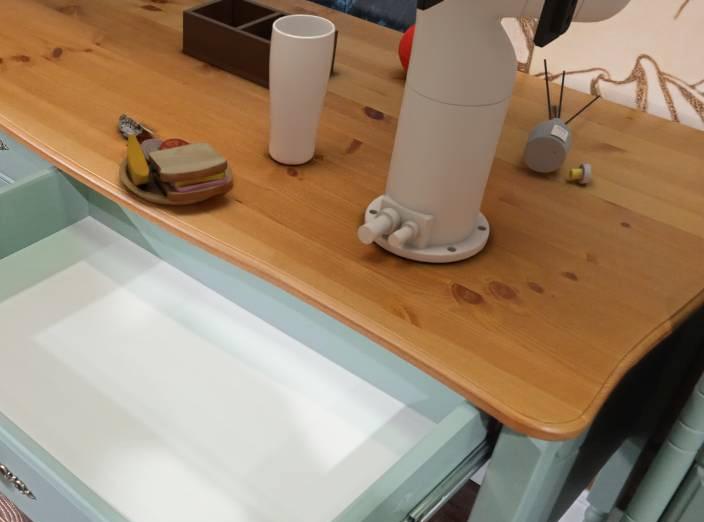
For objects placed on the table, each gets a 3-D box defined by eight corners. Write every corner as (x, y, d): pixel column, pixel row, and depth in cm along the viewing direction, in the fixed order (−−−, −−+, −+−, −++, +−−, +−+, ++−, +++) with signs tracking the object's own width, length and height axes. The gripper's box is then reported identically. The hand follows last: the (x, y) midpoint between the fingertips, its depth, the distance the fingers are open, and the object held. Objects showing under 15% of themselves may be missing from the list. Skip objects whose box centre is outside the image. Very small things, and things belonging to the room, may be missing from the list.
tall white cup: (278, 174, 97) (290, 41, 86) (252, 147, 101) (261, 18, 91) (330, 163, 99) (348, 32, 88) (303, 138, 103) (317, 10, 93)
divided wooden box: (284, 95, 112) (288, 51, 108) (182, 52, 122) (182, 10, 118) (333, 73, 117) (338, 30, 113) (231, 34, 127) (232, -7, 123)
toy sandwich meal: (217, 146, 101) (218, 109, 97) (245, 209, 91) (248, 169, 88) (112, 156, 99) (110, 118, 96) (130, 220, 90) (128, 181, 86)
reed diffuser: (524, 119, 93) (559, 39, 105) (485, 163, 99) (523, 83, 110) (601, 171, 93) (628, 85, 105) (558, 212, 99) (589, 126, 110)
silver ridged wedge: (134, 141, 101) (152, 153, 103) (144, 124, 100) (162, 136, 102) (112, 129, 105) (130, 141, 107) (121, 112, 105) (139, 124, 107)
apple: (412, 60, 120) (422, 6, 115) (463, 76, 117) (476, 20, 112) (382, 78, 116) (392, 22, 111) (434, 95, 112) (446, 38, 107)
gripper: (401, -272, 54) (361, 5, 66) (676, -238, 45) (572, 74, 57) (463, -285, 58) (415, -20, 70) (727, -255, 49) (620, 40, 61)
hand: (486, 22), depth 64 cm, fingers open, 9 cm apart
